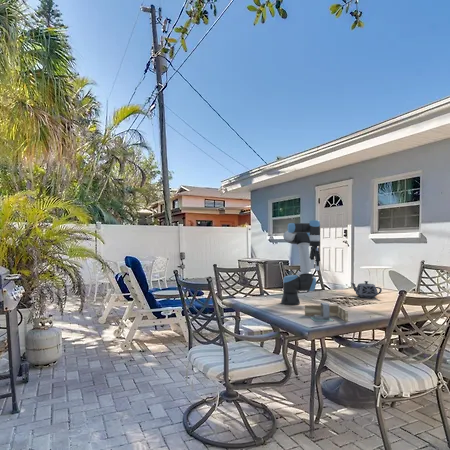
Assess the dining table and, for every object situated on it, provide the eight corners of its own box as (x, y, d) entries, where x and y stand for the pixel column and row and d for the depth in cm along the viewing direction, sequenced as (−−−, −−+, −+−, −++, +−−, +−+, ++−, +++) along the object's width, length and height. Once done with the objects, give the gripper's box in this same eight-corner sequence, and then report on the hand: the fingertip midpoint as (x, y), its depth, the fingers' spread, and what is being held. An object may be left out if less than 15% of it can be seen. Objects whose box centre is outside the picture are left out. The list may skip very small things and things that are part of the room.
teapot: (355, 293, 326) (355, 278, 327) (386, 298, 302) (386, 281, 303) (345, 295, 314) (344, 280, 315) (376, 300, 290) (376, 283, 291)
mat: (310, 317, 226) (310, 316, 226) (329, 317, 226) (329, 317, 226) (314, 321, 216) (314, 320, 216) (333, 321, 216) (333, 320, 216)
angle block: (326, 317, 224) (326, 302, 224) (329, 319, 218) (329, 304, 218) (313, 317, 224) (313, 302, 224) (315, 319, 218) (315, 304, 218)
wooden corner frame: (304, 315, 233) (304, 305, 233) (338, 315, 232) (338, 305, 233) (311, 321, 215) (311, 310, 215) (348, 321, 214) (347, 310, 215)
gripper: (305, 240, 258) (305, 267, 257) (314, 241, 233) (314, 271, 232) (315, 240, 258) (315, 267, 257) (324, 241, 233) (324, 271, 232)
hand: (314, 269), depth 245 cm, fingers open, 13 cm apart
